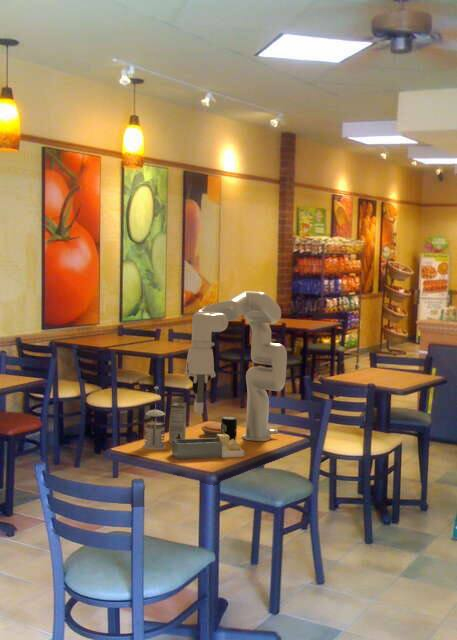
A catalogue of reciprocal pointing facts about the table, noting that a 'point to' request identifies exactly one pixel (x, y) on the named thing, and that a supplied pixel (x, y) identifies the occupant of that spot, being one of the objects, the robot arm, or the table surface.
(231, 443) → the wooden cube
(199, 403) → the grey rectangular bar
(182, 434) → the coffee box
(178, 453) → the slot block
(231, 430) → the beverage can
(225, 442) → the tan cube
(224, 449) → the tray
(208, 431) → the pie
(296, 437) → the table surface
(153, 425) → the french press
